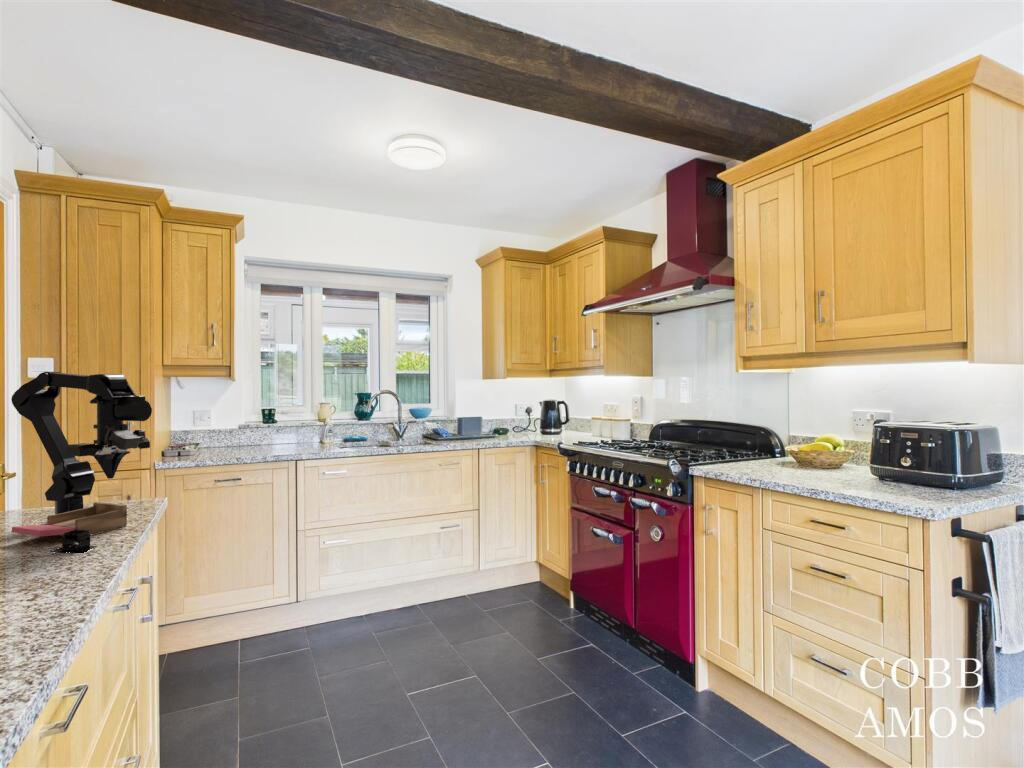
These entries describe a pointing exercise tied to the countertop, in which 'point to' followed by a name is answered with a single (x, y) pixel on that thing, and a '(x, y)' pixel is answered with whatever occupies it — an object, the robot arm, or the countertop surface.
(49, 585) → the countertop surface
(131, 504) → the countertop surface
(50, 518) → the brown wooden drawer
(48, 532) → the panel
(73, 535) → the black boxy piece
